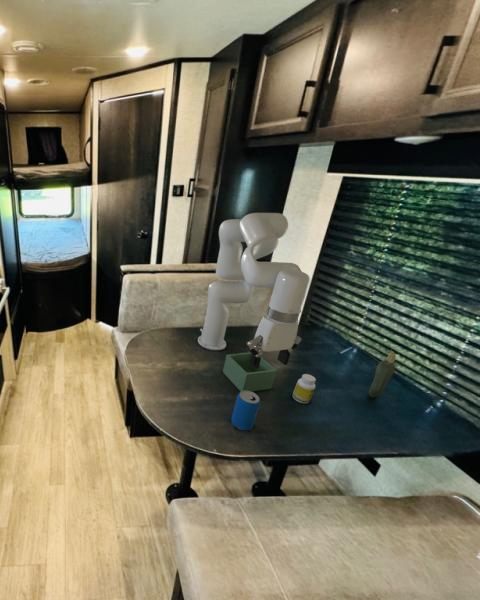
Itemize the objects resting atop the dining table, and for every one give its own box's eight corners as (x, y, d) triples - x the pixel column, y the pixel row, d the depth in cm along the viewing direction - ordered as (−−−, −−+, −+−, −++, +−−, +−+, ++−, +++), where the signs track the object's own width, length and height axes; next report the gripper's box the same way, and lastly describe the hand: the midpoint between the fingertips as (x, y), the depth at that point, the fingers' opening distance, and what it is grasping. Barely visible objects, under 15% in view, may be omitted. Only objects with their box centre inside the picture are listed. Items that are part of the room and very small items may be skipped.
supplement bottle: (309, 406, 111) (317, 384, 107) (291, 399, 114) (299, 378, 110) (310, 397, 115) (318, 376, 111) (292, 391, 118) (300, 370, 114)
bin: (222, 372, 129) (226, 354, 126) (249, 368, 131) (254, 351, 127) (241, 392, 118) (246, 374, 114) (271, 388, 120) (277, 370, 116)
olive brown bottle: (380, 403, 113) (404, 357, 104) (365, 399, 114) (388, 354, 106) (376, 395, 116) (399, 350, 108) (361, 392, 118) (383, 347, 109)
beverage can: (249, 435, 100) (258, 406, 95) (228, 425, 104) (236, 397, 99) (254, 422, 105) (262, 395, 100) (233, 413, 108) (240, 386, 103)
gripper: (298, 305, 92) (283, 354, 100) (246, 310, 90) (234, 360, 97) (320, 317, 86) (302, 368, 93) (264, 323, 83) (250, 375, 90)
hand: (267, 364), depth 95 cm, fingers open, 9 cm apart
